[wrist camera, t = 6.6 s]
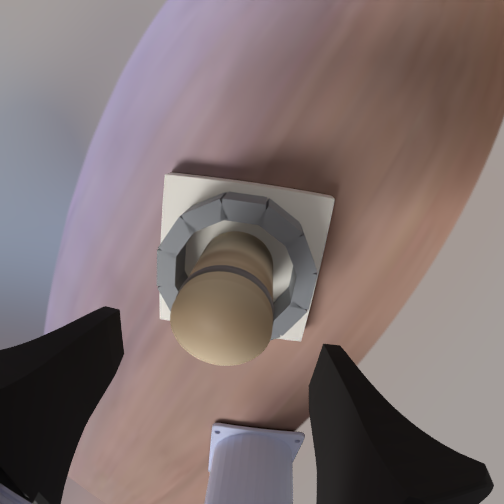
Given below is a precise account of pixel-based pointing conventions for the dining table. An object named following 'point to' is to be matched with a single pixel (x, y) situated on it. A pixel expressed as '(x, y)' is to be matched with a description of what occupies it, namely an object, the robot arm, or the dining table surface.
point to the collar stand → (252, 222)
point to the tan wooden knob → (227, 301)
